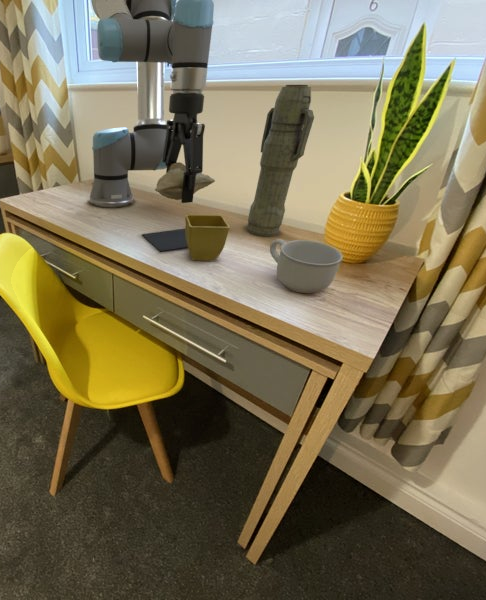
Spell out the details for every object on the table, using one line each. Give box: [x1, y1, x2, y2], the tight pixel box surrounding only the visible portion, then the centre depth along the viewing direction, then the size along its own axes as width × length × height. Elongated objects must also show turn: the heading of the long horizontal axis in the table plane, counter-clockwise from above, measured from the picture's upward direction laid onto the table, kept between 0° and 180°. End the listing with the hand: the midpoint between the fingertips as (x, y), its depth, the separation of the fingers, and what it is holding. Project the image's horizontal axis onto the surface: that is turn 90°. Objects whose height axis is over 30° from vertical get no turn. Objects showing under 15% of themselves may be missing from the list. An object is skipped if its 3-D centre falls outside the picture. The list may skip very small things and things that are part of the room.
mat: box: [141, 228, 189, 253], centre depth 88 cm, size 12×16×1 cm
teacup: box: [269, 238, 344, 294], centre depth 66 cm, size 14×11×8 cm
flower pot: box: [184, 214, 231, 262], centre depth 77 cm, size 9×9×9 cm
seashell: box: [154, 161, 216, 201], centre depth 82 cm, size 14×9×10 cm
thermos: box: [246, 84, 315, 237], centre depth 85 cm, size 9×12×35 cm
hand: (178, 197), depth 84 cm, fingers closed on seashell, 8 cm apart
